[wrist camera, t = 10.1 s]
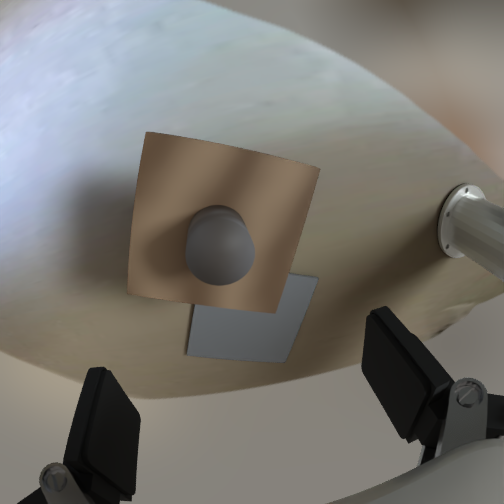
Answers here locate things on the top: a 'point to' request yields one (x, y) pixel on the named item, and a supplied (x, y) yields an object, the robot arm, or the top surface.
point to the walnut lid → (216, 223)
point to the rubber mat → (252, 327)
